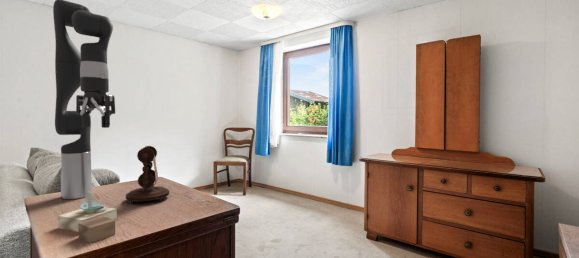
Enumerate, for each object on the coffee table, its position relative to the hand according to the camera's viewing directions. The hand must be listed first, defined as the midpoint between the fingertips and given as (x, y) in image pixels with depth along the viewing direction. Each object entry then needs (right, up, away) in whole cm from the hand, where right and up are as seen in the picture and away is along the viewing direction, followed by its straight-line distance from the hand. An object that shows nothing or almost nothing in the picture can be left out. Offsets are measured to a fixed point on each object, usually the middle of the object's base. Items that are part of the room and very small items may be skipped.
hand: (95, 127), depth 92 cm
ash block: (+4, -29, -10) cm, 31 cm away
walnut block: (+13, -29, -18) cm, 36 cm away
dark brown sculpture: (+10, -27, +15) cm, 33 cm away
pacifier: (+6, -25, -9) cm, 27 cm away
